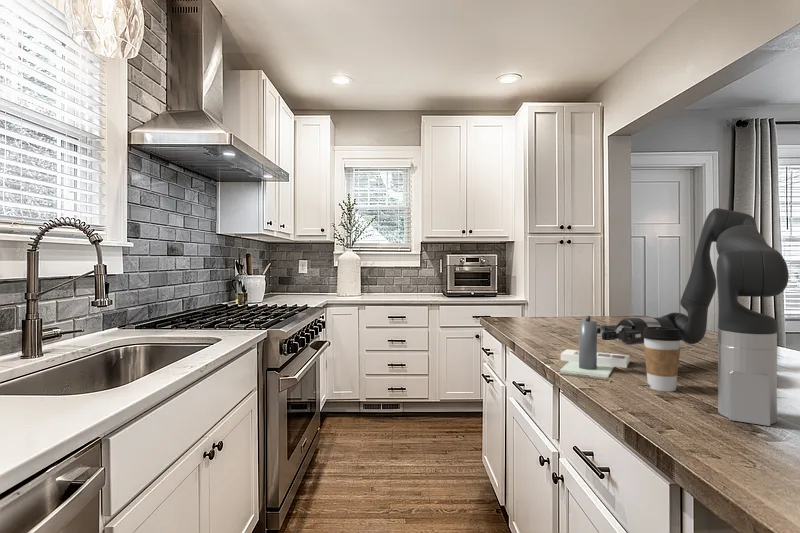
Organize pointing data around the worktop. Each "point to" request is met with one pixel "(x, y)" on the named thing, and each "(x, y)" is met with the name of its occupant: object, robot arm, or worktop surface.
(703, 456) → the worktop surface
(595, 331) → the grey bottle
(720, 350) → the robot arm
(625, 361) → the power strip
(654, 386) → the coffee cup
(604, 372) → the pad
